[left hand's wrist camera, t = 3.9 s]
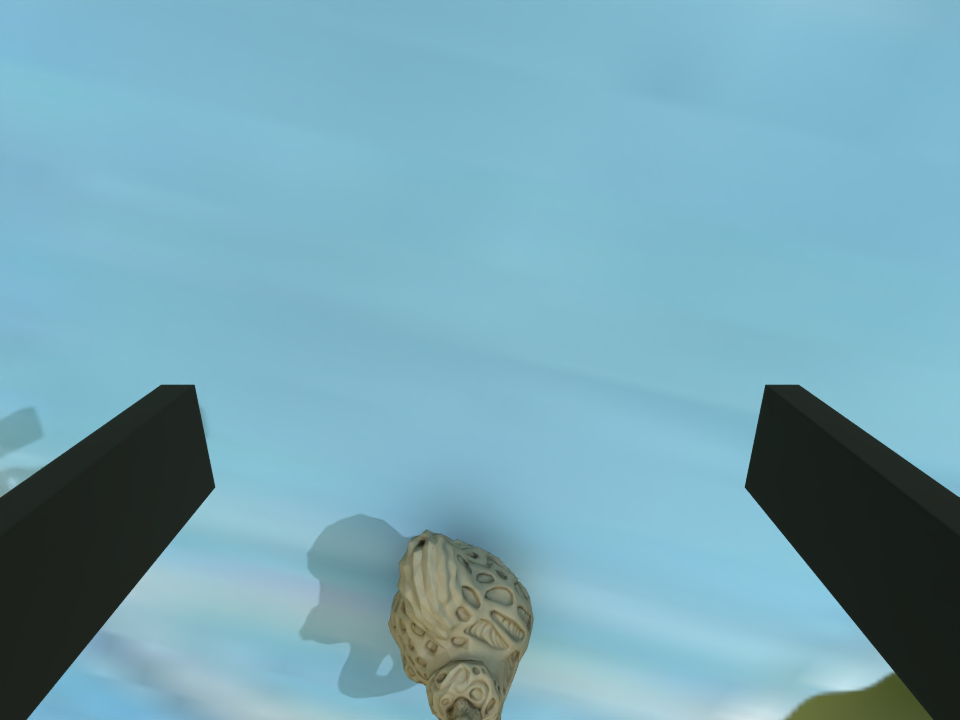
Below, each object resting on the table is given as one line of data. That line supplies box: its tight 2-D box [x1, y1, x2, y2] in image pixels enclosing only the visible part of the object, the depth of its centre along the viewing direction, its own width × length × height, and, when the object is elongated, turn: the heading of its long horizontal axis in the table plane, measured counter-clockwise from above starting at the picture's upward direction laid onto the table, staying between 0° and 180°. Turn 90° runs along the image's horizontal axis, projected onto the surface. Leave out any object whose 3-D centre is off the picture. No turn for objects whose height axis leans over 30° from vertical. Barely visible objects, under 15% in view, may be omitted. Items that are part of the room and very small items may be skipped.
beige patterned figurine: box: [388, 530, 534, 720], centre depth 42 cm, size 21×12×15 cm, turn 13°
